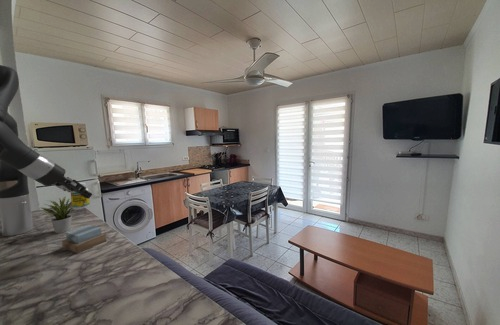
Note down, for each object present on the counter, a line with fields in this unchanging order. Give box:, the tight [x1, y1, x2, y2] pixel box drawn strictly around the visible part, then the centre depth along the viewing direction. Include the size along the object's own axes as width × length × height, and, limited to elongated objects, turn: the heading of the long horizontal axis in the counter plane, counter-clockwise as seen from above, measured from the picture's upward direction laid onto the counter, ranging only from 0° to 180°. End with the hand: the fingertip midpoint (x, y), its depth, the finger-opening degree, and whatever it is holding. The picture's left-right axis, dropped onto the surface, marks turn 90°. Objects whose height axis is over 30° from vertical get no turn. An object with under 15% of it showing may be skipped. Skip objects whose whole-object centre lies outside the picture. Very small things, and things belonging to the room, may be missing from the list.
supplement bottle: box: [70, 182, 90, 210], centre depth 78 cm, size 5×5×10 cm
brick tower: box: [61, 224, 107, 254], centre depth 80 cm, size 10×10×6 cm
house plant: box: [40, 196, 75, 234], centre depth 93 cm, size 14×14×16 cm
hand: (85, 195), depth 79 cm, fingers closed on supplement bottle, 5 cm apart
